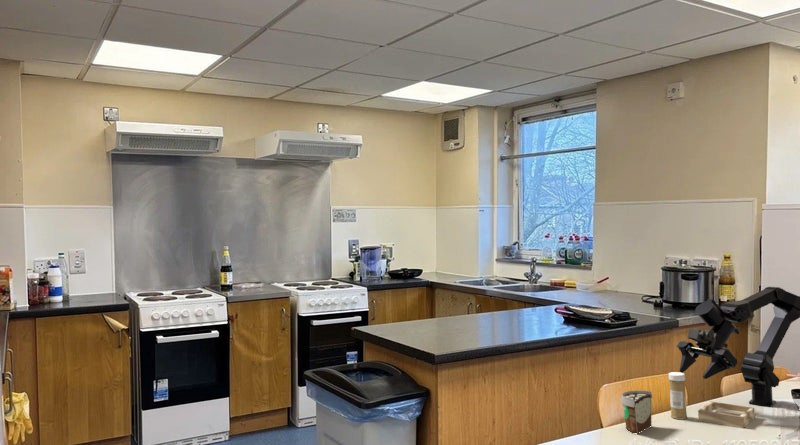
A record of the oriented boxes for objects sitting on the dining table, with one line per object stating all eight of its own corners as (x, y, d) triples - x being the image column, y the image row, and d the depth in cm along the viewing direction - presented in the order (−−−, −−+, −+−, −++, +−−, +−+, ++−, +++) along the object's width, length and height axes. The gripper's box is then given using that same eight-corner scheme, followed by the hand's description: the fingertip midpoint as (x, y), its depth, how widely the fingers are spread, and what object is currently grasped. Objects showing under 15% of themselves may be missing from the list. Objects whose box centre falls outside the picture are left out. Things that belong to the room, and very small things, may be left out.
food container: (633, 421, 183) (631, 387, 183) (653, 425, 178) (652, 391, 179) (614, 431, 174) (612, 396, 174) (635, 436, 170) (633, 400, 170)
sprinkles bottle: (690, 417, 184) (688, 373, 184) (681, 420, 181) (679, 375, 182) (676, 414, 188) (674, 370, 188) (667, 417, 185) (665, 373, 185)
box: (711, 411, 190) (710, 401, 190) (754, 417, 182) (754, 407, 182) (698, 420, 181) (698, 410, 181) (743, 428, 173) (742, 417, 173)
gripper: (680, 315, 198) (654, 353, 194) (728, 322, 180) (701, 363, 176) (699, 338, 200) (674, 375, 196) (749, 347, 183) (723, 388, 179)
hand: (692, 375), depth 187 cm, fingers open, 9 cm apart
